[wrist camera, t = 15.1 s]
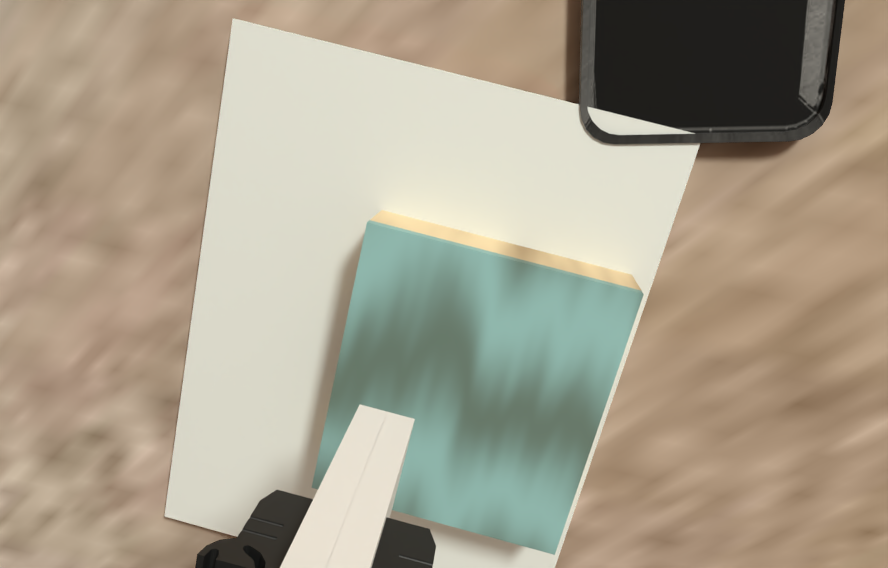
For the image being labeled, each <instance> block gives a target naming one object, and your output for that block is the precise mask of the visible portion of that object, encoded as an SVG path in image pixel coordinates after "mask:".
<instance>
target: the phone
mask: <svg viewBox="0 0 888 568" xmlns="http://www.w3.org/2000/svg"><path fill="white" fill-rule="evenodd" d="M844 4H845V0H582V1H581V40H580V78H579V105H580V112H581V119H582V122H583V124H584V126H585V128H586V130H587V131H588V132H589V133H590V134H591V135H592V136H593V137H594V138H595V139H598V140H600V141H602V142H604V143H609V144H667V143H723V142H780V141H794V140H800V139H803V138H805V137H807V136H809V135H811V134H813V133H814V132H815V131H816V130H817V129H819V128H820V127H821V126H822V125H823V123H824V122H825V120H826V119H827V117H828V115H829V113H830V109H831V106H832V102H833V93H834V85H835V77H836V69H837V61H838V53H839V44H840V36H841V28H842V20H843V12H844ZM588 107H591V108H595V109H599V110H603V111H607V112H611V113H615V114H619V115H623V116H627V117H631V118H635V119H639V120H643V121H647V122H651V123H655V124H659V125H663V126H667V127H671V128H675V129H679V130H683V131H687V132H691V133H695V134H649V135H616V134H609V133H607V132H605V131H603V130H601V129H600V128H599V127H598V126H597V125H596V124H595V123H594V122H593V121H592V119H591V117H590V115H589V113H588Z"/></svg>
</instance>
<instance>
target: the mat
mask: <svg viewBox="0 0 888 568" xmlns="http://www.w3.org/2000/svg"><path fill="white" fill-rule="evenodd" d="M588 113H589V115H590V117H591V119H592V121H593V122H594V123H595V124H596V125H597V126H598V127H599V128H600V129H601V130H603V131H605V132H607V133H609V134H616V135H649V134H695V133H691V132H687V131H683V130H679V129H675V128H671V127H667V126H663V125H659V124H655V123H651V122H647V121H643V120H639V119H635V118H631V117H627V116H623V115H619V114H615V113H611V112H607V111H603V110H599V109H595V108H591V107H588ZM699 146H700V143H667V144H609V143H604V142H602V141H600V140H598V139H595V138H594V137H593V136H592V135H591V134H590V133H589V132H588V131H587V130H586V128H585V126H584V124H583V122H582V119H581V112H580V105H579V104H575V103H571V102H567V101H563V100H559V99H555V98H551V97H547V96H543V95H539V94H535V93H531V92H527V91H523V90H519V89H515V88H511V87H507V86H503V85H499V84H495V83H491V82H487V81H483V80H479V79H475V78H471V77H467V76H463V75H459V74H455V73H451V72H447V71H443V70H438V69H434V68H430V67H426V66H422V65H418V64H414V63H410V62H406V61H402V60H398V59H394V58H390V57H386V56H382V55H378V54H374V53H370V52H366V51H362V50H358V49H354V48H350V47H346V46H342V45H338V44H334V43H330V42H326V41H322V40H318V39H314V38H310V37H306V36H302V35H298V34H294V33H290V32H286V31H282V30H278V29H274V28H270V27H266V26H262V25H258V24H254V23H250V22H246V21H242V20H238V19H234V18H233V21H232V28H231V35H230V43H229V50H228V57H227V65H226V72H225V79H224V86H223V94H222V101H221V108H220V115H219V123H218V130H217V137H216V145H215V152H214V159H213V166H212V174H211V181H210V188H209V196H208V203H207V210H206V217H205V225H204V232H203V239H202V246H201V254H200V261H199V268H198V276H197V283H196V290H195V297H194V305H193V312H192V319H191V326H190V334H189V341H188V348H187V356H186V363H185V370H184V377H183V385H182V392H181V399H180V407H179V414H178V421H177V428H176V436H175V443H174V450H173V457H172V465H171V472H170V479H169V487H168V494H167V501H166V508H165V517H168V518H172V519H175V520H179V521H182V522H186V523H190V524H193V525H197V526H200V527H204V528H207V529H211V530H215V531H218V532H222V533H225V534H229V535H232V536H236V537H238V535H239V534H240V532H241V531H242V529H243V527H244V525H245V524H246V522H247V521H248V519H250V516H251V514H252V512H253V511H254V509H255V508H256V506H257V504H258V503H259V501H260V500H261V499H263V498H265V497H266V496H268V495H269V494H271V493H272V492H274V491H275V490H281V491H285V492H288V493H292V494H296V495H299V496H303V497H307V498H311V499H314V497H315V495H316V493H317V491H318V489H314V488H312V483H313V478H314V473H315V469H316V464H317V459H318V454H319V449H320V445H321V440H322V435H323V430H324V426H325V421H326V416H327V411H328V406H329V402H330V397H331V392H332V387H333V382H334V378H335V373H336V368H337V363H338V358H339V354H340V349H341V344H342V339H343V335H344V330H345V325H346V320H347V315H348V311H349V306H350V301H351V296H352V291H353V287H354V282H355V277H356V272H357V267H358V263H359V258H360V253H361V248H362V243H363V239H364V234H365V229H366V224H367V222H368V221H369V220H370V219H372V218H373V217H374V216H375V215H376V214H378V213H379V212H380V211H381V210H384V211H388V212H392V213H395V214H399V215H403V216H407V217H411V218H415V219H419V220H422V221H426V222H430V223H434V224H438V225H442V226H446V227H450V228H453V229H457V230H461V231H465V232H469V233H473V234H477V235H481V236H484V237H488V238H492V239H496V240H500V241H504V242H508V243H511V244H515V245H519V246H523V247H527V248H531V249H535V250H539V251H542V252H546V253H550V254H554V255H558V256H562V257H566V258H570V259H573V260H577V261H581V262H585V263H589V264H593V265H597V266H600V267H604V268H608V269H612V270H616V271H620V272H624V273H628V274H631V275H632V276H633V277H634V279H635V281H636V282H637V284H638V285H639V287H640V289H641V290H642V292H643V294H644V295H643V298H642V301H641V304H640V307H639V310H638V313H637V316H636V318H635V321H634V324H633V327H632V330H631V333H630V336H629V339H628V342H627V345H626V348H625V351H624V354H623V357H622V359H621V362H620V365H619V368H618V371H617V374H616V377H615V380H614V383H613V386H612V389H611V392H610V395H609V398H608V401H607V403H606V406H605V409H604V412H603V415H602V418H601V421H600V424H599V427H598V430H597V433H596V436H595V439H594V442H593V444H592V447H591V450H590V453H589V456H588V459H587V462H586V465H585V468H584V471H583V474H582V477H581V480H580V483H579V485H578V488H577V491H576V494H575V497H574V500H573V503H572V506H571V509H570V512H569V515H568V518H567V521H566V524H565V527H564V529H563V532H562V535H561V538H560V541H559V544H558V547H557V550H556V553H555V555H553V554H549V553H546V552H542V551H539V550H535V549H531V548H528V547H524V546H520V545H517V544H513V543H510V542H506V541H502V540H499V539H495V538H491V537H488V536H484V535H481V534H477V533H473V532H470V531H466V530H462V529H459V528H455V527H452V526H448V525H444V524H441V523H437V522H434V521H430V520H426V519H423V518H419V517H415V516H412V515H408V514H405V513H401V512H397V511H394V510H392V511H391V514H390V518H391V519H395V520H399V521H402V522H406V523H410V524H413V525H417V526H421V527H425V528H428V529H430V531H431V534H432V536H433V539H434V542H435V544H436V550H435V556H434V562H433V568H555V565H556V562H557V559H558V557H559V554H560V551H561V548H562V545H563V542H564V539H565V536H566V533H567V530H568V527H569V525H570V522H571V519H572V516H573V513H574V510H575V507H576V504H577V501H578V498H579V495H580V492H581V490H582V487H583V484H584V481H585V478H586V475H587V472H588V469H589V466H590V463H591V460H592V458H593V455H594V452H595V449H596V446H597V443H598V440H599V437H600V434H601V431H602V428H603V426H604V423H605V420H606V417H607V414H608V411H609V408H610V405H611V402H612V399H613V396H614V393H615V391H616V388H617V385H618V382H619V379H620V376H621V373H622V370H623V367H624V364H625V361H626V359H627V356H628V353H629V350H630V347H631V344H632V341H633V338H634V335H635V332H636V329H637V327H638V324H639V321H640V318H641V315H642V312H643V309H644V306H645V303H646V300H647V297H648V294H649V292H650V289H651V286H652V283H653V280H654V277H655V274H656V271H657V268H658V265H659V262H660V260H661V257H662V254H663V251H664V248H665V245H666V242H667V239H668V236H669V233H670V230H671V228H672V225H673V222H674V219H675V216H676V213H677V210H678V207H679V204H680V201H681V198H682V195H683V193H684V190H685V187H686V184H687V181H688V178H689V175H690V172H691V169H692V166H693V163H694V161H695V158H696V155H697V152H698V149H699Z"/></svg>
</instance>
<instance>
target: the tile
mask: <svg viewBox="0 0 888 568" xmlns="http://www.w3.org/2000/svg"><path fill="white" fill-rule="evenodd" d="M643 295H644V294H643V292H642V290H641V289H640V287H639V285H638V284H637V282H636V281H635V279H634V277H633V276H632V275H631V274H628V273H624V272H620V271H616V270H612V269H608V268H604V267H600V266H597V265H593V264H589V263H585V262H581V261H577V260H573V259H570V258H566V257H562V256H558V255H554V254H550V253H546V252H542V251H539V250H535V249H531V248H527V247H523V246H519V245H515V244H511V243H508V242H504V241H500V240H496V239H492V238H488V237H484V236H481V235H477V234H473V233H469V232H465V231H461V230H457V229H453V228H450V227H446V226H442V225H438V224H434V223H430V222H426V221H422V220H419V219H415V218H411V217H407V216H403V215H399V214H395V213H392V212H388V211H384V210H381V211H380V212H379V213H378V214H376V215H375V216H374V217H373V218H372V219H370V220H369V221H368V222H367V224H366V229H365V234H364V239H363V243H362V248H361V253H360V258H359V263H358V267H357V272H356V277H355V282H354V287H353V291H352V296H351V301H350V306H349V311H348V315H347V320H346V325H345V330H344V335H343V339H342V344H341V349H340V354H339V358H338V363H337V368H336V373H335V378H334V382H333V387H332V392H331V397H330V402H329V406H328V411H327V416H326V421H325V426H324V430H323V435H322V440H321V445H320V449H319V454H318V459H317V464H316V469H315V473H314V478H313V483H312V488H314V489H319V487H320V485H321V483H322V480H323V478H324V476H325V474H326V472H327V470H328V468H329V466H330V464H331V462H332V460H333V458H334V456H335V454H336V452H337V450H338V448H339V446H340V444H341V442H342V440H343V438H344V435H345V433H346V431H347V429H348V427H349V425H350V423H351V421H352V419H353V417H354V415H355V413H356V411H357V409H358V407H359V405H364V406H368V407H372V408H375V409H379V410H383V411H387V412H391V413H394V414H398V415H402V416H406V417H409V418H413V419H415V420H414V424H413V428H412V432H411V436H410V440H409V444H408V448H407V452H406V456H405V460H404V464H403V468H402V472H401V476H400V480H399V484H398V488H397V492H396V496H395V500H394V504H393V508H392V510H394V511H397V512H401V513H405V514H408V515H412V516H415V517H419V518H423V519H426V520H430V521H434V522H437V523H441V524H444V525H448V526H452V527H455V528H459V529H462V530H466V531H470V532H473V533H477V534H481V535H484V536H488V537H491V538H495V539H499V540H502V541H506V542H510V543H513V544H517V545H520V546H524V547H528V548H531V549H535V550H539V551H542V552H546V553H549V554H553V555H555V553H556V550H557V547H558V544H559V541H560V538H561V535H562V532H563V529H564V527H565V524H566V521H567V518H568V515H569V512H570V509H571V506H572V503H573V500H574V497H575V494H576V491H577V488H578V485H579V483H580V480H581V477H582V474H583V471H584V468H585V465H586V462H587V459H588V456H589V453H590V450H591V447H592V444H593V442H594V439H595V436H596V433H597V430H598V427H599V424H600V421H601V418H602V415H603V412H604V409H605V406H606V403H607V401H608V398H609V395H610V392H611V389H612V386H613V383H614V380H615V377H616V374H617V371H618V368H619V365H620V362H621V359H622V357H623V354H624V351H625V348H626V345H627V342H628V339H629V336H630V333H631V330H632V327H633V324H634V321H635V318H636V316H637V313H638V310H639V307H640V304H641V301H642V298H643Z"/></svg>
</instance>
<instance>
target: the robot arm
mask: <svg viewBox="0 0 888 568" xmlns="http://www.w3.org/2000/svg"><path fill="white" fill-rule="evenodd" d="M414 420H415V419H413V418H409V417H406V416H402V415H398V414H394V413H391V412H387V411H383V410H379V409H375V408H372V407H368V406H364V405H359V407H358V409H357V411H356V413H355V415H354V417H353V419H352V421H351V423H350V425H349V427H348V429H347V431H346V433H345V435H344V438H343V440H342V442H341V444H340V446H339V448H338V450H337V452H336V454H335V456H334V458H333V460H332V462H331V464H330V466H329V468H328V470H327V472H326V474H325V476H324V478H323V480H322V483H321V485H320V487H319V489H318V491H317V493H316V495H315V497H314V499H311V498H307V497H303V496H299V495H296V494H292V493H288V492H285V491H281V490H275V491H274V492H272V493H271V494H269V495H268V496H266V497H265V498H263V499H261V500H260V501H259V503H258V504H257V506H256V508H255V509H254V511H253V512H252V514H251V516H250V519H248V521H247V522H246V524H245V525H244V527H243V529H242V531H241V532H240V534H239V535H238V537H237V538H231V539H224V540H218V541H216V542H214V543H211V544H209V545H207V546H206V547H205V548H204V549H203V550H201V551H200V552H199V553H198V554H197V561H196V567H195V568H433V562H434V556H435V550H436V544H435V542H434V539H433V536H432V534H431V531H430V529H428V528H425V527H421V526H417V525H413V524H410V523H406V522H402V521H399V520H395V519H391V518H390V514H391V511H392V508H393V504H394V500H395V496H396V492H397V488H398V484H399V480H400V476H401V472H402V468H403V464H404V460H405V456H406V452H407V448H408V444H409V440H410V436H411V432H412V428H413V424H414Z"/></svg>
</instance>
